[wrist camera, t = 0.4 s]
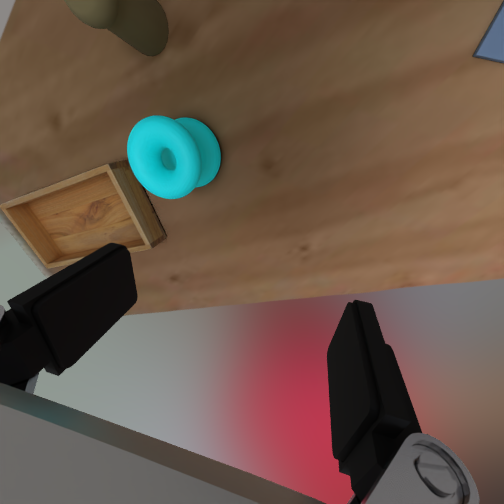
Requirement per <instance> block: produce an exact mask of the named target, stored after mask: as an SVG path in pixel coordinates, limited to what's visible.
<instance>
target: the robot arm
mask: <svg viewBox="0 0 504 504" xmlns="http://www.w3.org/2000/svg"><path fill="white" fill-rule="evenodd" d="M136 301H137V290H136V285H135V279H134V273H133V267H132V262H131V256H130V252H129V250H127V247H126V246H124V245H121V244H117V243H108V244H107V245H105V246H103V247H101V248H100V249H98V250H96V251H94V252H93V253H91V254H89V255H87V256H86V257H84V258H82V259H80V260H79V261H77V262H75V263H73V264H72V265H70V266H68V267H66V268H65V269H63V270H61V271H59V272H57V273H56V274H54V275H52V276H50V277H49V278H47V279H45V280H43V281H42V282H40V283H38V284H37V285H35V286H33V287H31V288H30V289H28V290H26V291H25V292H22V293H21V294H19V295H17V296H15V297H14V298H12V299H10V300H9V301H8V304H9V305H10V307H11V309H10V310H8V311H5V309H4V308H3V306H1V305H0V504H326V503H323V502H321V501H319V500H317V499H314V498H312V497H309V496H307V495H304V494H302V493H299V492H297V491H294V490H292V489H289V488H286V487H284V486H281V485H279V484H276V483H274V482H271V481H268V480H266V479H263V478H261V477H258V476H256V475H253V474H251V473H248V472H245V471H242V470H240V469H237V468H234V467H232V466H229V465H226V464H223V463H220V462H218V461H215V460H213V459H210V458H207V457H205V456H202V455H199V454H196V453H194V452H191V451H188V450H186V449H183V448H180V447H177V446H175V445H172V444H169V443H167V442H164V441H161V440H158V439H156V438H153V437H150V436H147V435H144V434H141V433H139V432H136V431H133V430H130V429H128V428H125V427H123V426H120V425H117V424H114V423H111V422H109V421H106V420H103V419H101V418H98V417H95V416H92V415H89V414H87V413H84V412H81V411H78V410H76V409H73V408H70V407H67V406H64V405H62V404H58V403H56V402H53V401H50V400H48V399H45V398H42V397H39V396H36V395H34V394H33V393H34V389H35V386H36V382H37V378H38V375H39V372H40V371H41V370H42V369H43V368H45V370H46V372H49V373H52V374H55V375H58V376H59V375H60V374H61V373H62V372H63V371H64V370H65V369H66V368H69V367H71V366H72V365H73V364H75V363H76V362H77V361H78V360H79V359H80V358H81V357H82V356H83V355H84V354H85V353H86V352H87V351H88V350H89V349H90V348H91V347H92V346H93V345H94V344H95V343H96V342H97V341H98V340H99V339H100V338H101V337H102V336H103V335H104V334H105V333H106V332H107V331H108V330H109V329H110V328H111V327H112V326H113V325H114V324H115V323H116V322H117V321H118V320H119V319H120V318H121V317H122V316H123V315H124V314H125V313H126V312H127V311H128V310H129V309H130V308H131V307H132V306H133V305H134V304H135V303H136ZM327 365H328V382H329V400H330V417H331V432H332V433H331V434H332V449H333V450H332V451H333V456H334V458H335V459H338V460H339V472H341V473H344V474H346V475H349V476H350V478H351V487H352V490H353V491H354V495H353V496H352V498H351V499H350V500H349V502H348V503H347V504H479V495H478V491H477V488H476V484H475V482H474V480H473V478H472V476H471V475H470V472H469V471H468V469H467V468H466V467H465V465H464V464H463V463H462V461H461V460H460V459H459V458H458V457H457V455H456V454H455V453H454V452H453V451H452V450H451V449H450V448H449V447H447V446H446V445H445V444H443V443H442V442H441V441H439V440H438V439H436V438H434V437H432V436H430V435H428V434H423V433H422V431H421V428H420V426H419V423H418V420H417V417H416V414H415V411H414V408H413V406H412V403H411V400H410V397H409V394H408V392H407V389H406V386H405V383H404V380H403V378H402V374H401V372H400V369H399V366H398V363H397V360H396V358H395V355H394V352H393V350H392V348H391V346H390V345H388V344H385V341H384V338H383V336H382V332H381V329H380V326H379V323H378V320H377V317H376V314H375V311H374V308H373V305H372V304H371V303H367V302H363V301H359V300H354V301H353V303H351V302H348V304H347V306H346V308H345V310H344V313H343V315H342V317H341V320H340V322H339V324H338V327H337V329H336V331H335V334H334V336H333V338H332V340H331V343H330V345H329V348H328V352H327Z"/></svg>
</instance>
